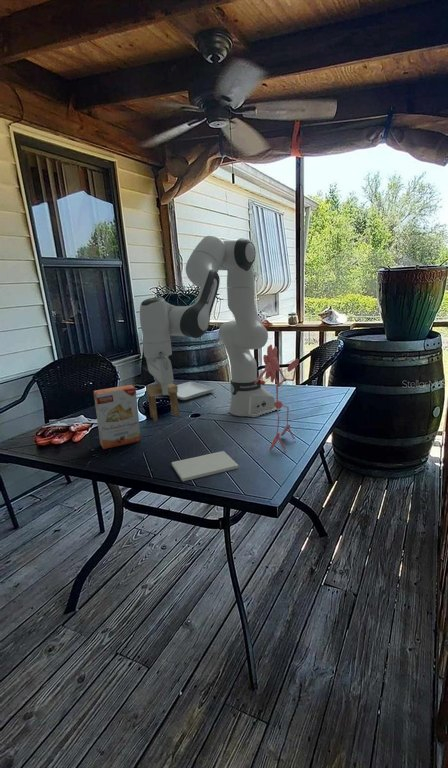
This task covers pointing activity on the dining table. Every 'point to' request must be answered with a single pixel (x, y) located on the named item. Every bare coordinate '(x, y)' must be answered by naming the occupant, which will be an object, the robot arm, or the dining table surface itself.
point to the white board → (204, 465)
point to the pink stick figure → (270, 370)
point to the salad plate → (192, 390)
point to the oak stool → (156, 391)
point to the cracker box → (117, 416)
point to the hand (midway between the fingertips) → (162, 391)
